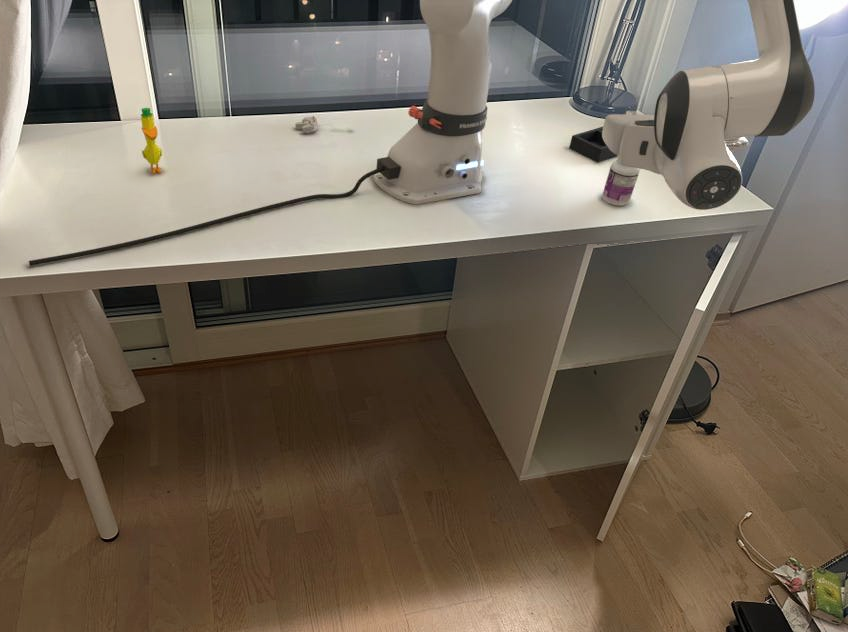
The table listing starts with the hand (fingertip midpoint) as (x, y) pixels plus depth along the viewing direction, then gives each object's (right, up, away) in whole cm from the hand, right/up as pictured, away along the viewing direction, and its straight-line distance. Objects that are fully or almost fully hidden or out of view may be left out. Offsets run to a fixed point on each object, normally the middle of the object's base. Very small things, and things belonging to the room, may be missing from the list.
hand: (658, 116), depth 117 cm
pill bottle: (0, -10, +20) cm, 22 cm away
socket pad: (+4, +6, +39) cm, 39 cm away
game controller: (-58, +10, +37) cm, 70 cm away
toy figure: (-89, -5, +18) cm, 91 cm away
